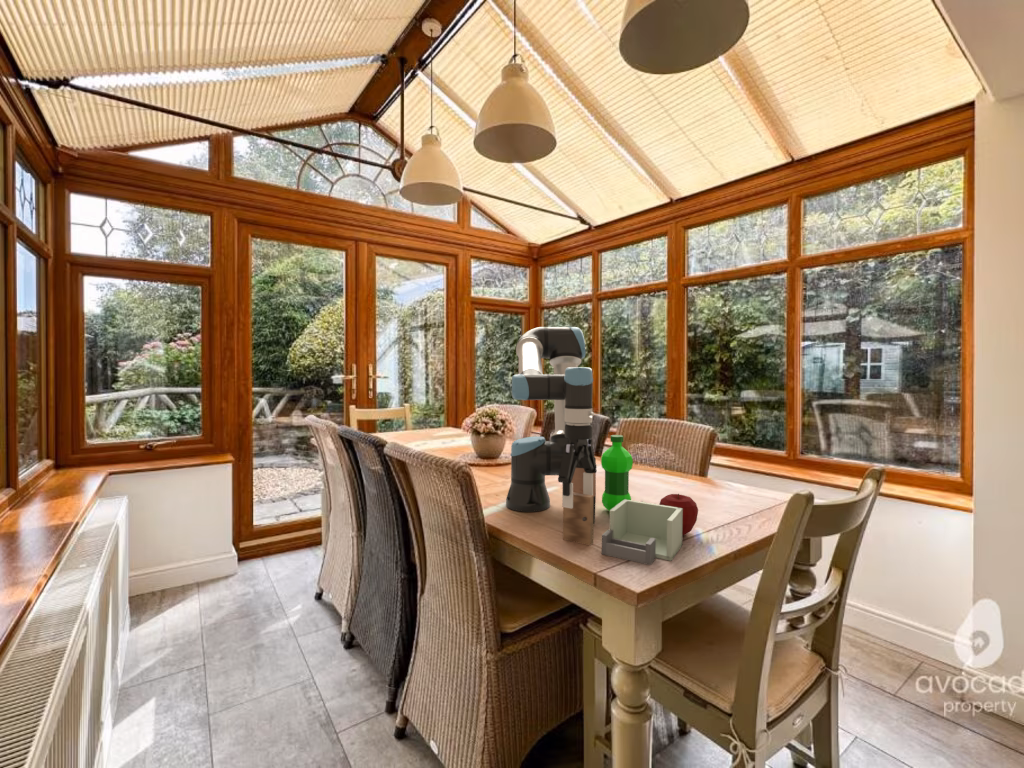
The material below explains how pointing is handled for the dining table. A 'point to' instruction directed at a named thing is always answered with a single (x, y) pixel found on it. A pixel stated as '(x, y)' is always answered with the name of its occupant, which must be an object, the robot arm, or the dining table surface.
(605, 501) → the plastic bottle
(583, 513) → the door panel
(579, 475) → the travel mug
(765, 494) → the dining table surface
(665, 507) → the cabinet
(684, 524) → the apple
